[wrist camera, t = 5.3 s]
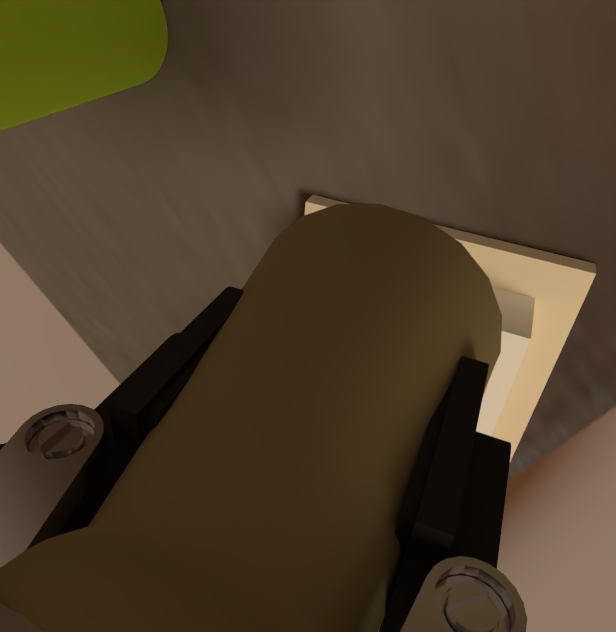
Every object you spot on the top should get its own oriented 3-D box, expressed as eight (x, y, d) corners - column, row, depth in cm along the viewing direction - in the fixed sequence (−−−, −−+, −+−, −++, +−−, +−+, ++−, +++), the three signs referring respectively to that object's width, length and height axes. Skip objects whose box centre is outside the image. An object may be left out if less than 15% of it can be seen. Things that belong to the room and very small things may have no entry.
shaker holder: (312, 194, 29) (277, 229, 26) (595, 263, 26) (598, 314, 22) (293, 389, 37) (265, 435, 34) (505, 462, 34) (498, 522, 30)
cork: (430, 456, 15) (237, 1146, 6) (233, 351, 16) (-180, 842, 7) (560, 283, 11) (520, 1406, 3) (294, 155, 12) (-437, 696, 3)
